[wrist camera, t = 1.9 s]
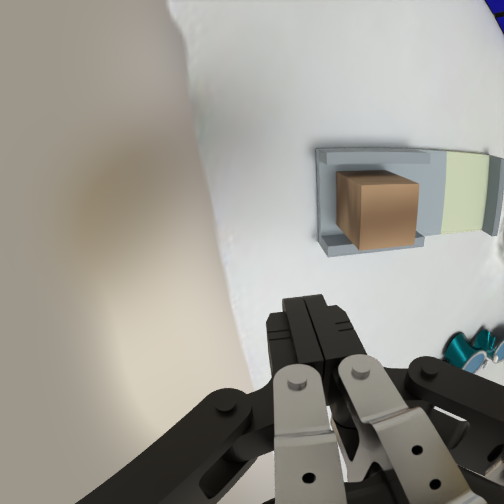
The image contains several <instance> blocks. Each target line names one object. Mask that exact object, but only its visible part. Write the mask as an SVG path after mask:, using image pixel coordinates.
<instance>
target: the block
mask: <svg viewBox="0 0 504 504" xmlns="http://www.w3.org/2000/svg"><path fill="white" fill-rule="evenodd" d="M418 200H419V183H416V182H414V181H412V180H409V179H407V178H404V177H402V176H399V175H397V174H394V173H392V172H389V171H387V170H366V171H336V225H337V226H338V227H339V228H340V229H341V231H342V232H343V233H344V234H345V235H346V236H347V237H348V238H349V240H350V241H351V242H352V243H353V244H354V245H355V246H356V247H357V249H358V250H359V251H362V250H371V249H380V248H389V247H399V246H408V245H414V243H415V234H416V225H417V214H418Z"/></svg>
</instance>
